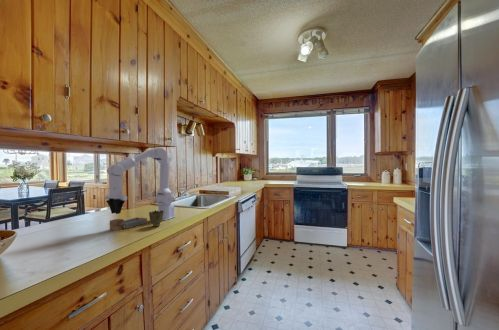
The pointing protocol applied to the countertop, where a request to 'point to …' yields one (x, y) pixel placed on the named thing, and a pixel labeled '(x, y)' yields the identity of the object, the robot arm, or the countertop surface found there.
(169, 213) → the robot arm
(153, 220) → the cup
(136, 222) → the channel
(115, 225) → the walnut block
